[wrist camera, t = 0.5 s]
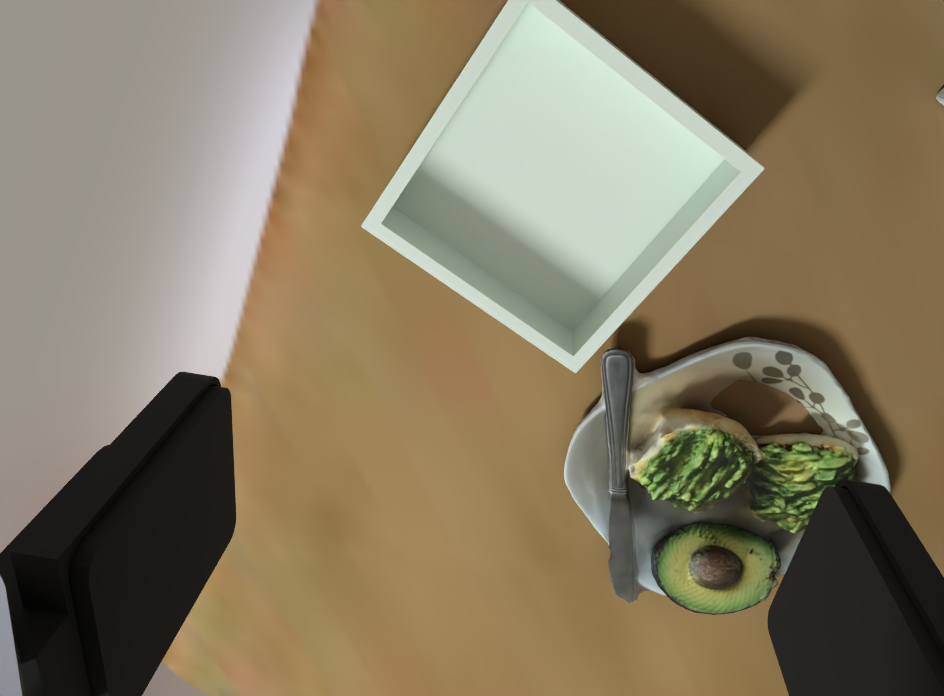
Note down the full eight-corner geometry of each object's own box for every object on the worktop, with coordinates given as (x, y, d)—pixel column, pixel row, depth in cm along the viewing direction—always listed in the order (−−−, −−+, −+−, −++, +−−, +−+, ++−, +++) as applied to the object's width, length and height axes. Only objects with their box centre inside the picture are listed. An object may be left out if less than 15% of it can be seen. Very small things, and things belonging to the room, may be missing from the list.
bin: (527, -26, 32) (524, -25, 29) (746, 150, 34) (764, 168, 31) (377, 205, 37) (360, 226, 34) (574, 342, 40) (575, 373, 37)
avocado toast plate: (485, 397, 43) (478, 442, 39) (778, 249, 37) (806, 284, 33) (638, 607, 49) (645, 665, 45) (908, 511, 43) (944, 567, 39)
